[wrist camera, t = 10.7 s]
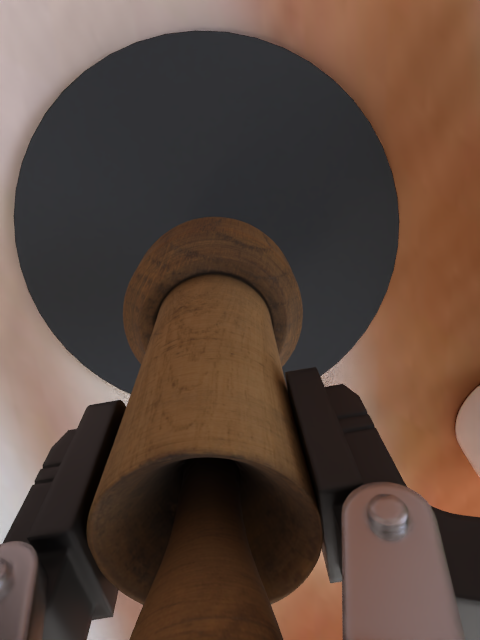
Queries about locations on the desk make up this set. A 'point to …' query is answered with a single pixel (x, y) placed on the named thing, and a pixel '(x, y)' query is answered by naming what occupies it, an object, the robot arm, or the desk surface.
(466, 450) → the white cup
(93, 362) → the disc
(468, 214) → the desk surface
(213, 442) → the brown wooden turned piece
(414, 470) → the desk surface
